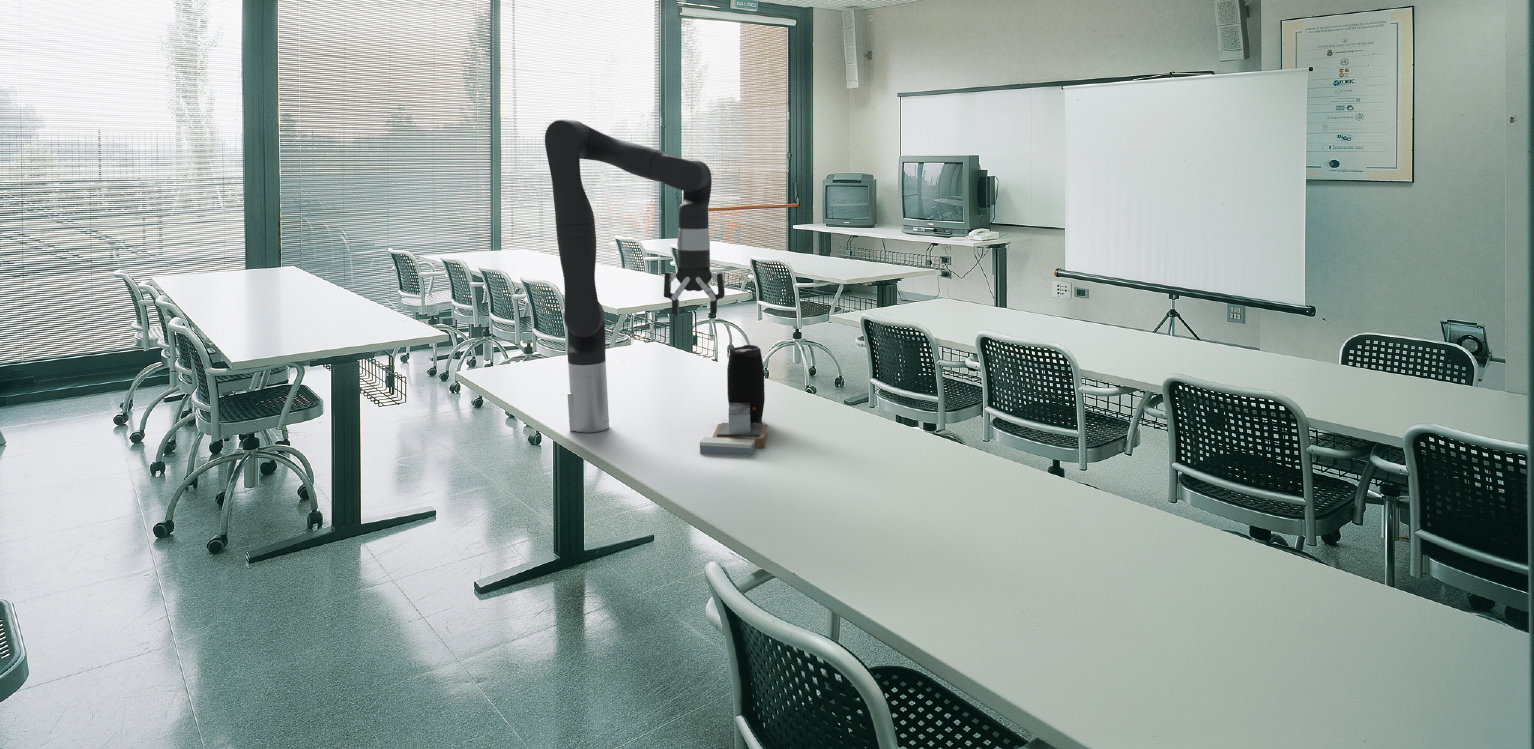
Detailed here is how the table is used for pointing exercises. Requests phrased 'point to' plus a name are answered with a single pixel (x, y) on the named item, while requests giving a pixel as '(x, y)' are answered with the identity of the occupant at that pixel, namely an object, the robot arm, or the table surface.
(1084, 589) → the table surface
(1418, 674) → the table surface
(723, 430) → the stand
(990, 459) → the table surface
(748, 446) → the eraser
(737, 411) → the block
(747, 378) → the portable speaker
